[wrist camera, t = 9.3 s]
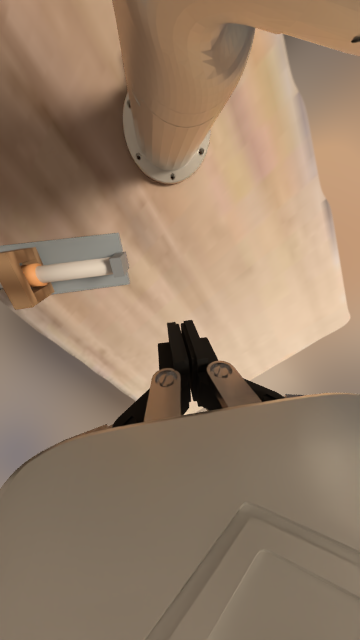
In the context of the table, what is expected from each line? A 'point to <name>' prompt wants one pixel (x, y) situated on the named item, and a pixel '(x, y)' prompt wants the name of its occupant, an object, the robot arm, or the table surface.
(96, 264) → the pipe stand
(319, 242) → the table surface
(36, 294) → the collar
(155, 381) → the robot arm
